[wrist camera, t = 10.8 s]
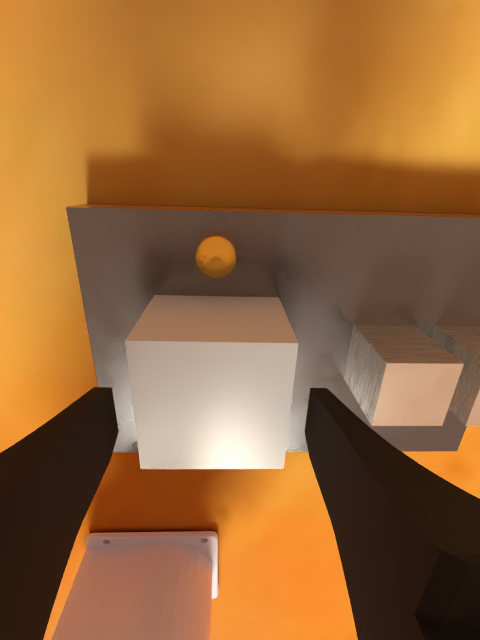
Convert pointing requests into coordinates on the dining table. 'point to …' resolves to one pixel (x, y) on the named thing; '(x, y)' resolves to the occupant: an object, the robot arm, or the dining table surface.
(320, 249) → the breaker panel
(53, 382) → the dining table surface
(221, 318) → the cap
